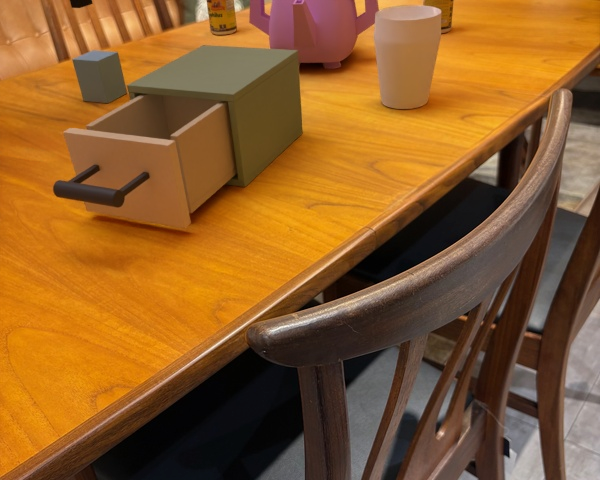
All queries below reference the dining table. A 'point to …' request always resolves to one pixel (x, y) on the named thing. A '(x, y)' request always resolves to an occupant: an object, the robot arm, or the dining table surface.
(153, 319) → the dining table surface
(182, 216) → the drawer
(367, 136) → the dining table surface
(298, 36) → the teapot
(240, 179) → the cabinet
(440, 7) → the supplement bottle
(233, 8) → the supplement bottle
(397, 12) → the cup
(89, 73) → the block
